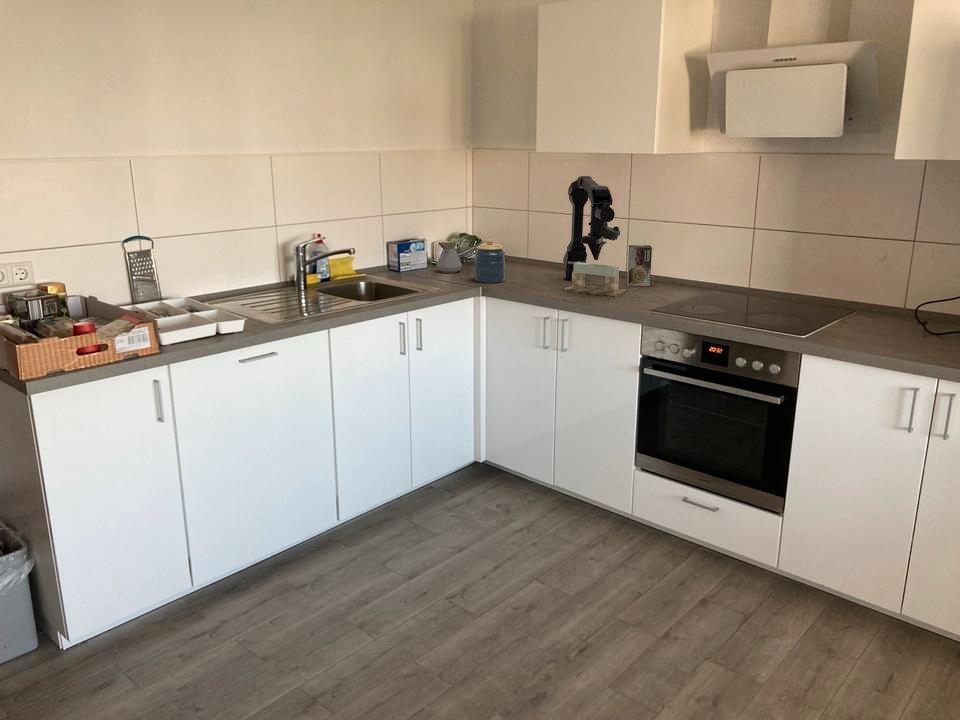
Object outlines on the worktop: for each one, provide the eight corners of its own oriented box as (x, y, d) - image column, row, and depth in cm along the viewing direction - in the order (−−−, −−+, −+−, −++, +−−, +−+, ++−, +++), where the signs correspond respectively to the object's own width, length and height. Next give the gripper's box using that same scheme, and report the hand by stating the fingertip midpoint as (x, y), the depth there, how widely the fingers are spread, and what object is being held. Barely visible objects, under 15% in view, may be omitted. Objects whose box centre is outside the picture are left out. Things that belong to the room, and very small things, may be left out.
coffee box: (648, 283, 320) (651, 245, 315) (650, 286, 314) (652, 247, 309) (626, 283, 321) (628, 244, 316) (627, 286, 315) (629, 246, 310)
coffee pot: (440, 269, 352) (440, 236, 348) (464, 270, 349) (464, 237, 345) (426, 277, 332) (425, 242, 328) (451, 278, 329) (451, 243, 325)
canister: (503, 277, 331) (504, 236, 326) (506, 283, 319) (506, 240, 314) (473, 277, 331) (474, 236, 326) (474, 283, 318) (474, 240, 313)
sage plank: (573, 272, 305) (573, 263, 304) (578, 270, 308) (579, 262, 307) (613, 277, 294) (614, 268, 293) (618, 275, 297) (619, 266, 296)
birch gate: (563, 290, 304) (564, 273, 302) (574, 286, 313) (575, 269, 311) (616, 296, 293) (617, 278, 291) (626, 292, 302) (627, 274, 300)
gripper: (609, 223, 284) (606, 265, 288) (626, 218, 299) (623, 258, 304) (581, 221, 289) (579, 262, 293) (599, 217, 305) (597, 256, 309)
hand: (596, 260), depth 300 cm, fingers closed
